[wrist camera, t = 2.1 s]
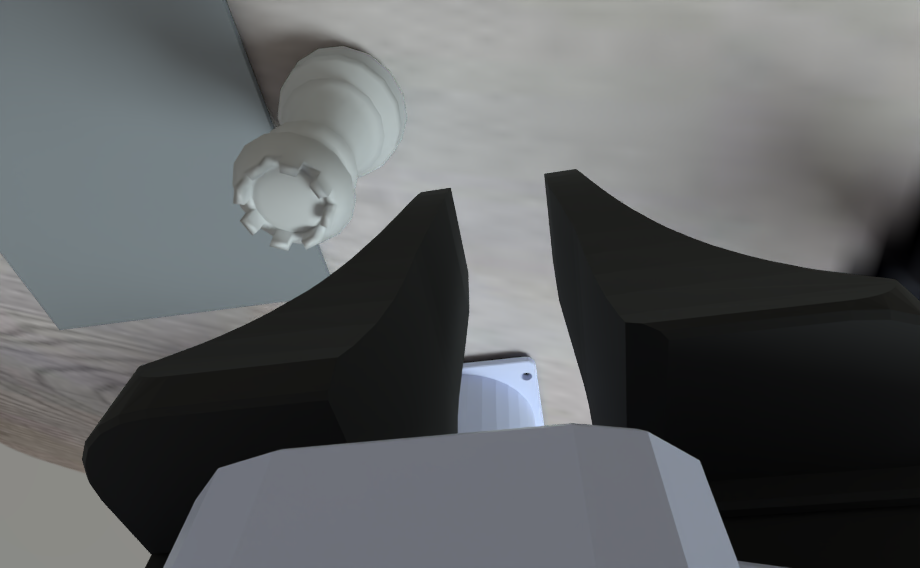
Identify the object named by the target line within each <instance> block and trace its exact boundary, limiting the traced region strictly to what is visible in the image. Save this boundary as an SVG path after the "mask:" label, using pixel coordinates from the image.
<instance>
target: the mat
mask: <svg viewBox="0 0 920 568" xmlns="http://www.w3.org/2000/svg"><path fill="white" fill-rule="evenodd" d="M273 129H274V126H273V123H272V121H271V118H270V115H269V113H268V110H267V107H266V105H265V102H264V100H263V97H262V94H261V92H260V89H259V86H258V84H257V81H256V78H255V76H254V73H253V70H252V68H251V65H250V63H249V60H248V57H247V55H246V52H245V49H244V47H243V44H242V41H241V39H240V36H239V34H238V31H237V28H236V26H235V23H234V20H233V18H232V15H231V12H230V10H229V7H228V5H227V2H226V0H0V253H1V254H2V255H3V257H4V258H5V259H6V261H7V262H8V263H9V264H10V266H11V267H12V268H13V270H14V271H15V272H16V274H17V275H18V276H19V277H20V279H21V280H22V281H23V283H24V284H25V285H26V287H27V288H28V289H29V291H30V292H31V293H32V294H33V296H34V297H35V298H36V300H37V301H38V302H39V304H40V305H41V306H42V308H43V309H44V310H45V311H46V313H47V314H48V315H49V317H50V318H51V319H52V321H53V322H54V323H55V324H56V326H57V327H58V328H59V330H64V329H72V328H80V327H88V326H95V325H103V324H111V323H119V322H127V321H135V320H143V319H151V318H158V317H166V316H174V315H182V314H190V313H198V312H206V311H214V310H221V309H229V308H237V307H245V306H253V305H261V304H269V303H277V302H284V301H291V300H292V299H294V298H296V297H297V296H299V295H301V294H302V293H304V292H306V291H308V290H309V289H311V288H312V287H314V286H315V285H317V284H318V283H320V282H321V281H323V280H324V279H325V278H327V277H328V276H330V274H329V271H328V268H327V266H326V263H325V260H324V258H323V255H322V253H321V250H320V247H319V245H318V244H317V245H315V246H313V247H311V248H309V249H307V250H306V249H305V247H304V245H303V244H296V243H292V245H291V247H290V248H289V250H288V251H286V250H282V249H278V248H274V247H270V243H271V240H272V238H273V236H272V235H270V234H269V233H267V232H265V231H264V230H262V229H261V228H260V229H259V230H258V231H257V232H256V233H255V234H254V235H253V236H252V235H251V234H250V232H249V231H248V230H247V229H246V228H245V227H244V225H243V224H242V223H241V222H240V220H241V218H242V217H243V216H244V214H245V212H244V211H243V210H242V208H241V207H240V205H239V204H233V198H234V189H233V186H232V182H233V165H234V162H235V161H236V159H237V157H238V156H239V154H240V152H241V151H242V149H243V147H244V146H245V145H246V144H248V143H250V142H251V141H253V140H255V139H256V138H258V137H260V136H261V135H263V134H268V133H270V131H272V130H273Z"/></svg>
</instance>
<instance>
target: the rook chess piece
mask: <svg viewBox="0 0 920 568" xmlns="http://www.w3.org/2000/svg"><path fill="white" fill-rule="evenodd" d="M278 120H279V124H280V126H278V127H277V128H275V129H273V130H272V131H270V133H268V134H263V135H261V136H260V137H258V138H256V139H255V140H253V141H251V142H250V143H248V144H246V145H245V146H244V147H243V149H242V151H241V152H240V154H239V156H238V157H237V159H236V161H235V162H234V165H233V182H232V186H233V189H234V198H233V204H239V205H240V207H241V208H242V210H243V211H244V212H245V214H244V216H243V217H242V218H241V220H240V222H241V223H242V224H243V225H244V227H245V228H246V229H247V230H248V231H249V232H250V234H251V235H252V236H253V235H254V234H255V233H256V232H257V231H258V230H259V229H260V228H261V229H262V230H264V231H265V232H267V233H269V234H270V235H272V236H273V238H272V240H271V243H270V247H274V248H278V249H282V250H286V251H288V250H289V248H290V247H291V245H292V243H296V244H303V245H304V247H305V249H306V250H307V249H309V248H311V247H313V246H315V245H317V244H319V243H322V242H324V241H326V240H328V239H330V238H332V237H334V236H336V235H338V234H340V233H341V231H342V230H343V229H344V228H345V226H346V225H347V224H348V223H349V221H350V220H351V219H352V216H353V211H354V206H355V201H356V194H355V188H356V183H357V178H358V177H362V176H364V175H366V174H368V173H370V172H372V171H374V170H376V169H377V168H379V167H381V166H383V165H384V164H385V163H386V161H387V160H388V159H389V157H390V156H391V155H392V154H393V152H394V151H395V150H396V149H397V145H398V144H399V143H400V141H401V140H402V137H403V132H404V128H405V124H406V120H407V114H406V108H405V102H404V96H403V92H402V91H401V89H400V87H399V86H398V84H397V82H396V81H395V79H394V77H393V76H392V74H391V72H390V71H389V70H388V69H387V68H386V67H384V66H383V65H382V64H381V63H379V62H378V61H377V60H376V59H374V58H373V57H372V56H371V55H369V54H367V53H364V52H361V51H358V50H354V49H351V48H348V47H345V46H339V47H330V48H320V49H317V50H316V51H314V52H312V53H311V54H309V55H308V56H306V57H304V58H303V59H301V60H300V61H298V62H297V64H296V66H295V67H294V69H293V70H292V71H291V73H290V75H289V76H288V78H287V80H286V81H285V83H284V85H283V86H282V88H281V89H280V98H279V108H278Z"/></svg>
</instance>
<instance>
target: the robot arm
mask: <svg viewBox="0 0 920 568" xmlns="http://www.w3.org/2000/svg"><path fill="white" fill-rule="evenodd" d="M544 176H545V186H546V196H547V206H548V216H549V226H550V236H551V246H552V256H553V264H554V271H555V277H556V283H557V290H558V296H559V301H560V305H561V308H562V312H563V315H564V319H565V322H566V325H567V329H568V332H569V336H570V339H571V342H572V346H573V349H574V353H575V356H576V359H577V363H578V366H579V369H580V373H581V376H582V380H583V383H584V387H585V391H586V395H587V399H588V403H589V408H590V414H591V419H592V425H587V424H575V423H569V424H558V425H547V426H544V422H543V415H542V407H541V400H540V393H539V386H538V379H537V372H536V364H535V361H534V360H533V359H532V358H530V357H517V358H507V359H498V360H489V361H479V362H470V363H463V361H464V353H465V344H466V335H467V327H468V317H469V282H468V269H467V264H466V259H465V255H464V250H463V245H462V240H461V235H460V230H459V226H458V221H457V216H456V211H455V206H454V201H453V197H452V192H451V188H446V189H440V190H433V191H426V192H421V193H420V194H418V195H417V196H416V197H415V198H414V199H413V200H412V201H411V202H410V203H409V204H408V205H407V206H406V207H405V208H404V209H403V210H402V211H401V212H400V213H399V214H398V215H397V216H396V217H395V218H394V219H393V220H392V221H391V222H390V223H389V224H388V225H387V227H386V228H385V229H384V230H383V231H382V232H381V233H380V234H378V235H377V236H376V237H375V238H374V239H373V240H372V241H371V242H370V243H368V244H367V245H366V246H365V247H364V248H363V249H362V250H361V251H360V252H358V253H357V254H356V255H355V256H354V257H353V258H352V259H351V260H349V261H348V262H347V263H346V264H344V265H343V266H342V267H340V268H339V269H338V270H337V271H335V272H334V273H332V274H331V275H330V276H328V277H327V278H325V279H324V280H323V281H321V282H320V283H318V284H317V285H315V286H314V287H312V288H311V289H309V290H308V291H306V292H304V293H302V294H301V295H299V296H297V297H296V298H294V299H292V300H291V301H289V302H287V303H285V304H284V305H282V306H280V307H279V308H277V309H275V310H273V311H272V312H270V313H268V314H266V315H264V316H262V317H260V318H258V319H256V320H254V321H252V322H250V323H248V324H246V325H244V326H242V327H239V328H237V329H235V330H233V331H231V332H228V333H226V334H224V335H222V336H219V337H217V338H215V339H212V340H210V341H207V342H205V343H202V344H200V345H197V346H194V347H192V348H189V349H186V350H184V351H181V352H178V353H176V354H173V355H170V356H168V357H165V358H162V359H160V360H157V361H154V362H151V363H148V364H145V365H142V366H140V367H138V369H137V370H136V372H135V373H134V374H133V376H132V377H131V379H130V380H129V381H128V383H127V384H126V386H125V387H124V388H123V390H122V391H121V392H120V394H119V395H118V397H117V398H116V399H115V401H114V402H113V404H112V405H111V406H110V408H109V409H108V411H107V412H106V413H105V415H104V416H103V418H102V419H101V420H100V422H99V423H98V425H97V426H96V427H95V429H94V430H93V432H92V433H91V434H90V436H89V437H88V439H87V440H86V441H85V446H84V451H83V457H82V461H83V464H84V468H85V471H86V475H87V478H88V480H89V483H90V484H91V486H92V487H93V489H94V490H95V491H96V493H97V494H98V496H99V497H100V499H101V500H102V501H103V502H104V503H105V505H106V506H108V508H109V509H110V510H111V511H112V512H113V513H114V514H115V515H116V516H117V518H118V519H119V520H120V521H121V522H122V523H123V524H124V525H125V526H126V527H127V528H128V529H129V531H130V532H131V533H132V534H133V535H134V536H135V537H136V538H137V539H138V540H139V541H140V542H141V544H142V545H143V546H144V547H145V548H146V549H147V550H148V551H149V552H150V554H152V555H151V557H150V559H149V561H148V563H147V565H146V567H145V568H920V301H919V300H918V299H917V298H916V297H915V296H913V295H912V294H911V293H910V292H909V291H908V290H907V289H906V288H905V287H904V286H903V285H901V284H900V283H899V282H898V281H897V280H895V279H888V278H880V277H872V276H863V275H855V274H847V273H839V272H830V271H822V270H815V269H809V268H803V267H798V266H793V265H788V264H783V263H778V262H773V261H768V260H764V259H760V258H756V257H751V256H747V255H743V254H740V253H737V252H733V251H730V250H727V249H723V248H720V247H716V246H713V245H710V244H707V243H704V242H701V241H699V240H696V239H693V238H691V237H688V236H686V235H684V234H681V233H679V232H676V231H674V230H672V229H669V228H667V227H665V226H663V225H661V224H659V223H657V222H655V221H653V220H651V219H649V218H647V217H645V216H644V215H642V214H640V213H638V212H636V211H635V210H633V209H631V208H630V207H628V206H626V205H625V204H623V203H622V202H620V201H619V200H617V199H616V198H614V197H613V196H611V195H610V194H608V193H607V192H606V191H604V190H603V189H601V188H600V187H599V186H597V185H596V184H595V183H593V182H592V181H591V180H590V179H588V178H587V177H586V176H584V175H583V174H582V173H581V172H579V171H578V170H576V169H573V170H567V171H560V172H553V173H547V174H544ZM523 373H530V374H528V375H524V374H523Z"/></svg>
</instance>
